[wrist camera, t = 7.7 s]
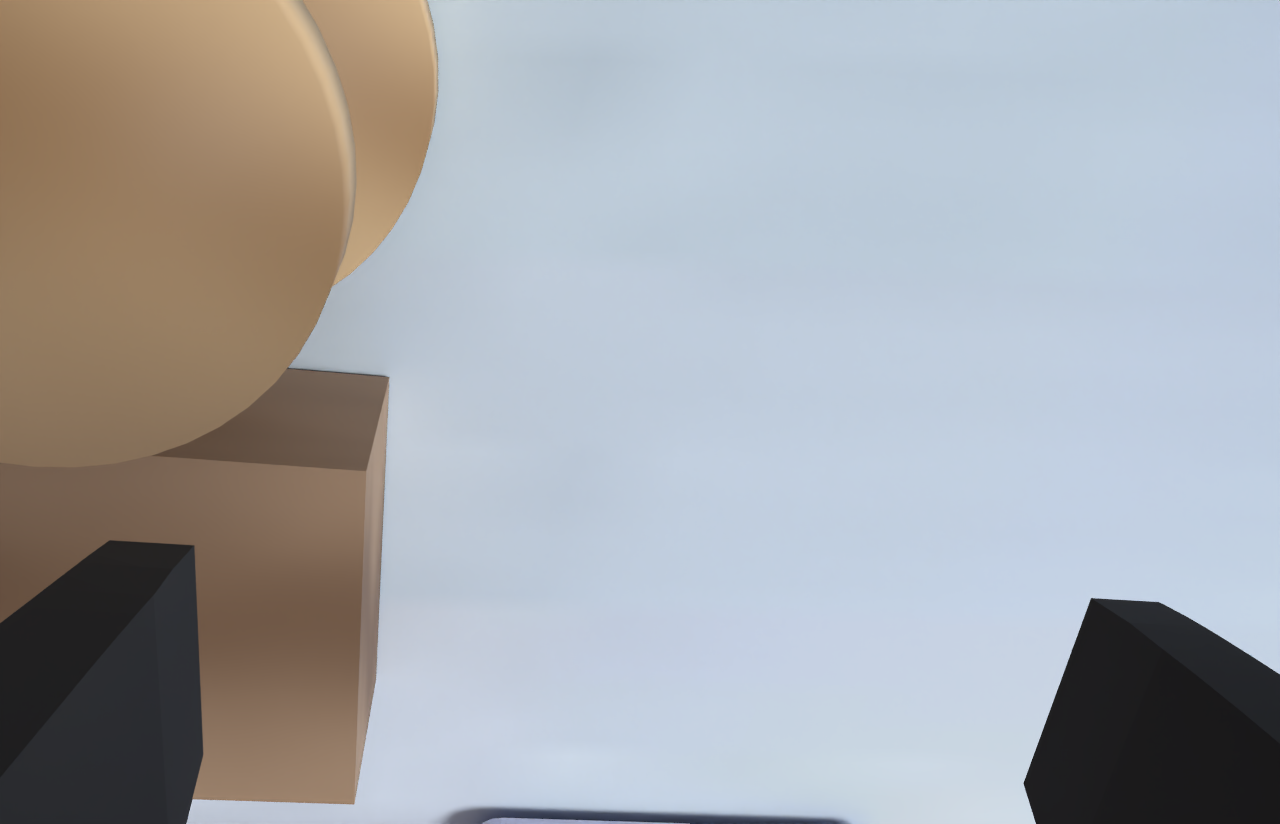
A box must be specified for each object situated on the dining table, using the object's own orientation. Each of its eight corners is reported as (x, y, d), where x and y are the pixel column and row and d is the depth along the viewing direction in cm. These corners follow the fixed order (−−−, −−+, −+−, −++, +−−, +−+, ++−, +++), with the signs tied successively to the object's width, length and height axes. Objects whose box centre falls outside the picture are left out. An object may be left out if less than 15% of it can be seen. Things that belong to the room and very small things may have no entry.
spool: (424, 321, 18) (383, 531, 12) (-63, 277, 17) (-334, 484, 12) (453, -186, 15) (415, -196, 9) (-140, -275, 14) (-555, -343, 8)
